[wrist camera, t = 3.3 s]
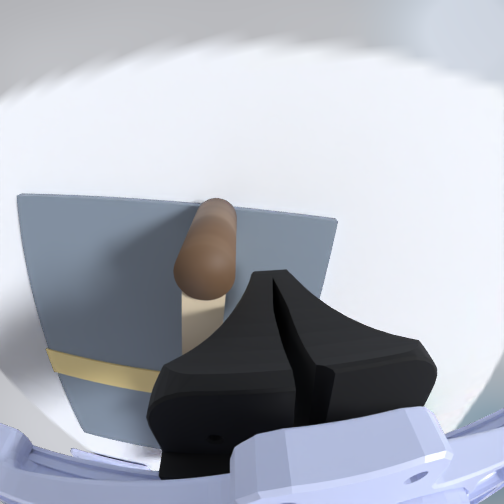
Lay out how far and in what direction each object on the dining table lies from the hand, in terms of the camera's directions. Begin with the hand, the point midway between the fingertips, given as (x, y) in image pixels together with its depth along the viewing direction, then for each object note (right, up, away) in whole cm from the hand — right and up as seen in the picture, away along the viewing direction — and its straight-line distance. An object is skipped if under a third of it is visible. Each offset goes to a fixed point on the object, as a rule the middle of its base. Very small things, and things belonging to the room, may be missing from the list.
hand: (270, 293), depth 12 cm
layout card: (-6, -5, +5) cm, 9 cm away
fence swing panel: (-3, -1, +2) cm, 3 cm away
